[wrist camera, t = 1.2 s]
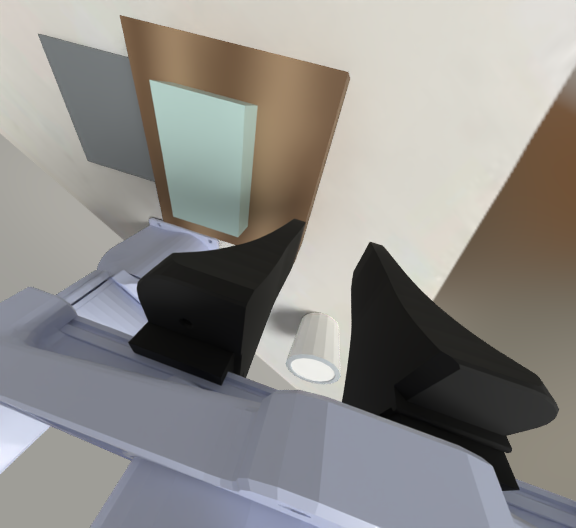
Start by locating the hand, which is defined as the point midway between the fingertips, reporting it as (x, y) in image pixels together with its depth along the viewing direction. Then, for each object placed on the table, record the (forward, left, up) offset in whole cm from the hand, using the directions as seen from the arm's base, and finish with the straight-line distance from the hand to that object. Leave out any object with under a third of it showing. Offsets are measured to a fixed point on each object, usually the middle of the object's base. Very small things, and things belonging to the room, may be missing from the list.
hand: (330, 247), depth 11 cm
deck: (-9, 0, -10) cm, 14 cm away
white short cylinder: (+4, -20, -11) cm, 23 cm away
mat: (-22, 0, -10) cm, 24 cm away
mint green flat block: (-10, 0, -6) cm, 12 cm away
